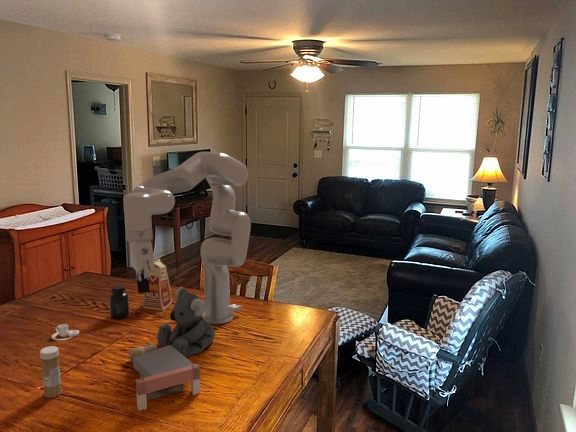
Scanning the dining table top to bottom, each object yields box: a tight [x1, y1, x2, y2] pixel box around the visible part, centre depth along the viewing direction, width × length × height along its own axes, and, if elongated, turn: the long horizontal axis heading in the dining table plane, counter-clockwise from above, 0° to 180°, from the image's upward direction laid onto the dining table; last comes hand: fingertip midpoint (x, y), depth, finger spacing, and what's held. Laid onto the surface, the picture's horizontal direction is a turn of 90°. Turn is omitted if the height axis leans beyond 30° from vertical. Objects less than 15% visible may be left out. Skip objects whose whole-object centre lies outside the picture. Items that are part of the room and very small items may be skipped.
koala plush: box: [156, 286, 216, 358], centre depth 162 cm, size 17×18×20 cm
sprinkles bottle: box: [39, 345, 63, 399], centre depth 133 cm, size 5×5×14 cm
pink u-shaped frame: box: [135, 363, 201, 412], centre depth 132 cm, size 17×2×8 cm, turn 121°
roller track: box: [128, 343, 185, 401], centre depth 145 cm, size 10×25×4 cm, turn 31°
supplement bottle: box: [108, 284, 130, 321], centre depth 185 cm, size 7×7×12 cm
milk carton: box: [142, 258, 173, 311], centre depth 196 cm, size 9×9×20 cm
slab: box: [132, 345, 195, 378], centre depth 140 cm, size 12×14×3 cm
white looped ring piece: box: [51, 323, 80, 341], centre depth 170 cm, size 9×8×4 cm
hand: (143, 291), depth 148 cm, fingers closed
